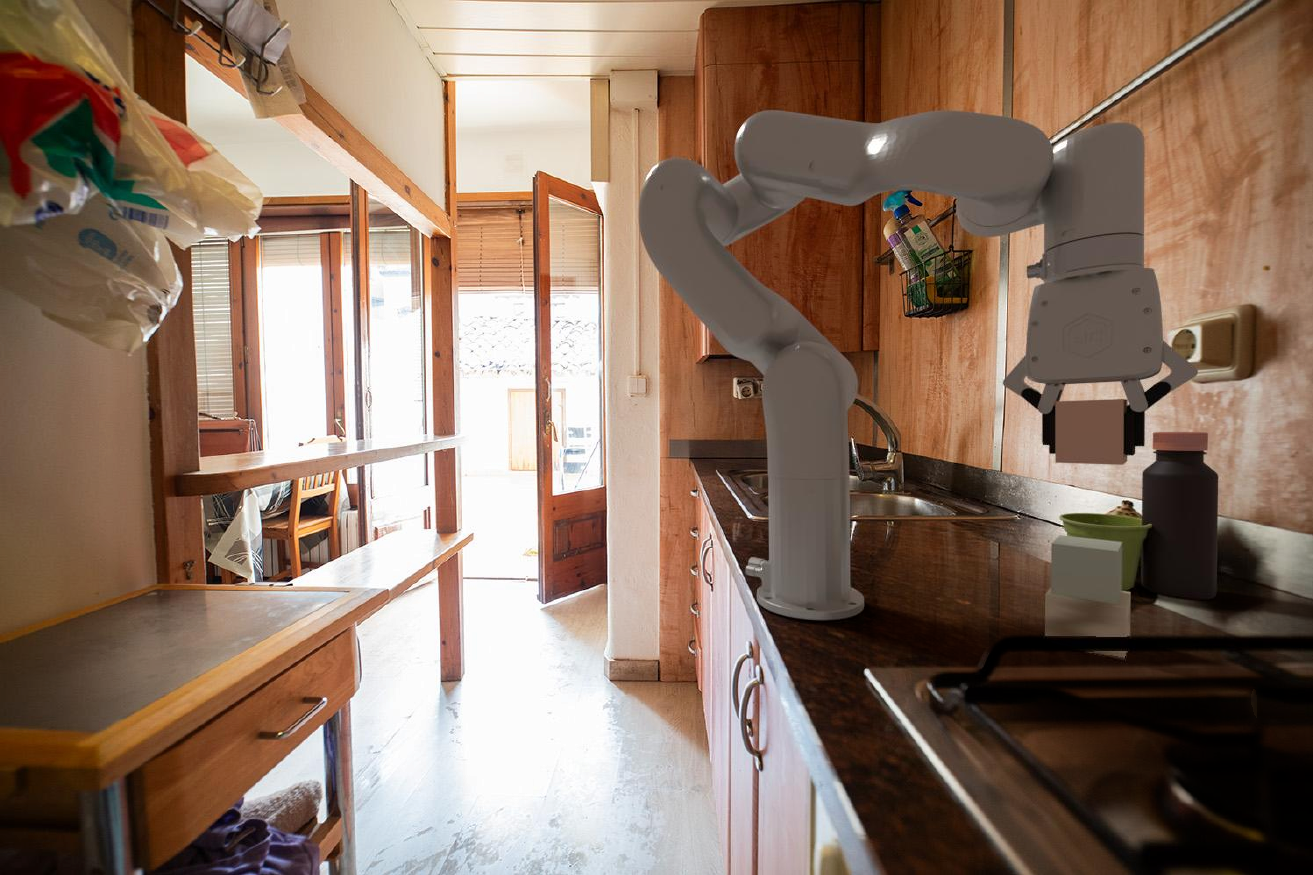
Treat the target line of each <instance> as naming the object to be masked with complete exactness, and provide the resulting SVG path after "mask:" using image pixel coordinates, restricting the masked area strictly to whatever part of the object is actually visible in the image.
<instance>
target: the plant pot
mask: <svg viewBox="0 0 1313 875" xmlns="http://www.w3.org/2000/svg"><path fill="white" fill-rule="evenodd" d="M1058 517H1059V520H1060V521H1061V522H1062V524H1063V529H1064V531H1065V532H1066V536H1072V537H1081V538H1090V539H1099V540H1108V541H1117V542H1122V591H1129V590H1130V589H1133V588H1135V582H1136V578H1137V573H1138V568H1139V563H1140V557H1141V553H1142V544H1143V540H1144V539H1145V538H1146V536H1147V532H1148V528H1151V527H1152V524H1148V525H1145V526H1142V518H1138V517H1134V516H1127V515H1119V514H1109V513H1094V512H1093V513H1092V512H1072V513H1063V514H1060V515H1059V516H1058Z"/></svg>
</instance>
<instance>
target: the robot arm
mask: <svg viewBox="0 0 1313 875" xmlns="http://www.w3.org/2000/svg"><path fill="white" fill-rule="evenodd" d="M734 142H735V143H734V147H733V148H734V149H733V150H734V151H733V152H734V153H733V154H734V159H735V164H736V166H737V170H738V171H739V174H738V175H735V176H734V177H732V178H731V179H730V180H728V181H726V182H725V183H723V184H722V183H721V181H719V180H718V179H717V178H716V176H714V175H713V173H711V172H710V171H709V170H708V169H707V167H706V168H705V167H704V166H703V165H701V164H699V163H698V162H696V161H694V160H691V159H688V158H684V157H670V158H666V159H663V160H661V161H659V162H658V163H657V164H656V165H654V166H653V167H652V168H651V169H650V171H649V172H648V174H647V176H646V178H645V180H644V181H643V182H644V183H643V185H642V188H641V192H640V194H639V195H640V196H639V202H638V227H639V232H640V237H641V240H642V242H643V246H644V248H645V251H646V253H647V255H648V257H649V258H650V260H651V263H652V264H653V265H654V267H655V269H656V270H657V271H658V272H659V274H660V275H661V277H662V278H663V279H664V280H665V282H666V283H667V284H668V285H669V286H670V287H671V288H672V289H673V290H674V292H675V293H676V294H677V295H678V296H679V297H680V299H682V301H683V302H684V303H685V304H686V305H687V306H688V308H689V309H690V310H691V312H693V314H694V315H695V316H696V317H697V318H698V319H699V320H700V322H701V323H702V324H703V325H704V326H705V327H706V328H707V329H708V330H709V332H710V333H711V334H712V335H713V337H715V339H716V340H717V341H718V342H719V344H720V345H721V346H722V348H724V349H725V350H726V351H727V353H729V354H730V355H732V356H734V357H736V358H738V359H742V360H745V361H747V362H750V363H751V364H752V365H753V366H754V367H755V368H756V369H757V370H758V371H759V372H760V373H761V374H762V375H763V379H762V383H761V385H762V386H761V392H762V393H761V398H762V399H761V400H762V408H763V417H764V424H765V433H766V446H767V448H766V451H767V478H768V479H767V480H768V484H767V485H768V560H766V559H764V558H759V557H754V556H752V557H750V558H749V559H748V562H747V565H746V566H745V575H747V576H751V577H756V578H760V580H761V585H760V586H759V587H758V588H757V590H756V601H757V602H758V604H759V605H760V606H761V607H762V608H764V609H765V610H767V611H769V612H772V613H775V614H777V615H780V616H784V617H788V618H794V619H797V620H798V619H800V620H807V621H808V620H809V621H835V620H836V621H837V620H842V619H843V620H844V619H848V618H852V617H853V616H857V615H859V614H860V613H862V612H863V610H864V609H865V608H864V607H865V597H864V596H863V594H862V593H861V592H860V591H858V590H857V589H855V588H853V587H852V586H851V509H850V508H851V501H850V500H851V498H850V494H851V490H850V489H851V488H850V486H851V485H850V482H851V481H850V478H851V477H850V445H849V444H850V443H849V440H850V439H849V427H848V426H849V424H848V410H849V409H850V408H851V407H852V405H853V403H854V402H855V400H856V398H857V394H858V388H859V380H858V376H857V373H856V371H855V369H854V366H853V365H852V363H851V362H850V360H848V359H847V358H846V357H845V356H844V354H842V352H841V351H839V350H838V349H837V348H836V347H835V346H834V345H833V344H832V343H831V342H830V341H829V340H828V339H827V338H826V337H825V336H824V335H823V334H822V333H821V332H820V331H819V330H818V329H817V327H815V326H814V325H813V324H812V323H811V322H810V321H809V320H808V319H807V318H806V317H805V316H804V315H803V314H802V313H801V312H800V311H799V310H798V309H797V308H796V307H795V306H793V305H792V304H791V303H790V302H789V301H788V300H786V299H785V298H784V297H782V296H781V295H780V294H778V293H776V292H775V291H774V290H772V289H770V288H769V287H767V286H765V284H763V283H762V282H760V281H759V280H758V279H757V278H756V277H755V276H754V275H752V274H751V272H749V271H748V270H747V269H746V268H745V267H744V266H743V265H742V264H741V263H740V262H739V261H738V260H737V258H736V257H735V256H734V254H733V253H732V252H730V251H729V249H727V248H726V247H727V246H729V245H731V244H733V243H735V242H737V241H738V240H740V239H742V238H744V237H746V236H747V235H750V233H752V232H755V231H756V230H759V229H760V228H762V227H763V226H765V225H767V224H769V223H770V222H773V221H774V220H776V219H778V218H780V217H781V216H783V215H784V214H786V213H787V212H789V211H791V210H792V209H793V208H795V207H796V206H797V205H799V204H801V203H802V202H803V201H804V200H805V198H809V199H813V200H814V199H815V200H819V201H823V202H828V203H832V204H835V205H836V204H838V205H842V206H846V207H854V206H857V205H860V204H862V203H864V202H866V201H868V200H869V199H871V198H872V197H874V196H876V195H878V194H882V193H886V192H891V191H912V192H913V191H914V192H916V191H917V192H923V193H924V192H925V193H931V194H936V195H942V196H947V197H951V198H956V203H955V204H956V205H955V206H956V207H955V211H956V216H957V217H956V218H957V220H958V223H959V224H960V226H961V227H962V229H963V230H965V231H966V232H968V233H969V234H971V235H973V236H975V237H979V238H980V237H981V238H995V237H1001V236H1006V235H1010V234H1013V233H1016V232H1020V231H1022V230H1023V231H1024V230H1026V229H1030V228H1033V227H1036V226H1040V225H1043V253H1042V257H1041V258H1040V260H1039V262H1035V263H1033V264H1029V265H1027V266H1026V277H1027V279H1028V280H1029V279H1034V278H1035V279H1040V280H1041V281H1043V283H1041V284H1037V285H1036V286H1034V289H1033V290H1032V295H1031V302H1030V307H1029V311H1028V312H1029V313H1028V314H1029V315H1028V321H1027V330H1026V341H1025V342H1026V343H1025V344H1026V345H1025V355H1024V356H1023V357H1022V358H1021V360H1020V361H1019V362H1018V363H1017V364H1016V365H1015V367H1014V368H1013V369H1012V370H1011V371H1010V372H1009V373H1008V374H1007V376H1006V377H1005V378H1004V379H1003V380H1002V386H1004V387H1006V388H1007V389H1009V390H1010V391H1011V392H1013V393H1015V394H1016V395H1018V396H1020V397H1022V399H1024V401H1026V402H1027V403H1028V404H1030V405H1031V406H1032V407H1033V408H1035V409H1036V410H1037V411H1038V412H1039V413H1040V414H1041V421H1042V422H1041V425H1042V426H1041V432H1042V433H1041V438H1042V439H1041V442H1042V445H1043V446H1049V447H1048V453H1049V454H1051V455H1054V454H1055V401H1061V398H1062V396H1063V393H1064V390H1065V387H1066V385H1075V384H1079V385H1080V384H1081V385H1082V384H1098V383H1113V382H1114V383H1115V382H1120V383H1121V386H1122V388H1123V391H1124V394H1125V396H1126V400H1128V406H1126V414H1124V454H1126V455H1127V456H1130V457H1131V456H1132V457H1133V456H1135V455H1136V447H1145V440H1146V437H1145V435H1146V429H1145V428H1146V425H1145V424H1146V421H1145V420H1146V417H1145V416H1146V414H1145V413H1146V411H1147V410H1149V409H1150V408H1151V407H1152V406H1154V405H1155V404H1156V403H1158V402H1159V401H1160V400H1162V399H1163V398H1165V397H1166V396H1167V395H1169V393H1171V392H1172V391H1175V390H1176V389H1177V388H1180V387H1182V386H1183V385H1184V384H1186V383H1187V382H1190V381H1191V380H1192V379H1194V378H1195V377H1197V375H1198V374H1199V370H1198V368H1197V367H1195V366H1194V365H1193V364H1192V362H1191V363H1190V362H1189V361H1188V360H1187V359H1186V358H1185V357H1184V356H1182V355H1181V354H1180V353H1179V352H1177V350H1175V349H1174V348H1173V347H1171V345H1169V344H1168V343H1167V342H1165V341H1164V330H1163V329H1164V327H1163V326H1164V325H1163V314H1162V312H1163V310H1162V301H1161V293H1160V289H1159V287H1160V286H1159V284H1158V279H1157V276H1156V272H1155V269H1154V268H1151V267H1145V153H1146V152H1145V151H1146V150H1145V149H1146V148H1145V136H1144V133H1143V131H1142V130H1141V129H1140V128H1139V127H1138V126H1136V125H1135V124H1133V123H1128V122H1110V123H1109V122H1108V123H1102V124H1098V125H1094V126H1091V127H1088V128H1085V129H1082V130H1078V131H1076V132H1074V133H1071V134H1070V135H1068V136H1066V137H1063V138H1062V139H1061V140H1060V141H1058V142H1057V143H1055V144H1054V145H1052V143H1051V140H1050V138H1049V137H1048V135H1046V133H1045V132H1044V131H1043V130H1042V129H1040V128H1038V126H1036V125H1034V124H1032V123H1029V122H1026V121H1023V120H1020V119H1017V118H1014V117H1013V118H1012V117H1009V116H1008V117H1007V116H1003V115H995V114H988V113H979V112H972V111H963V110H951V109H950V110H944V109H943V110H930V111H925V112H919V113H915V114H911V115H905V116H900V117H896V118H892V119H890V120H886V121H883V122H880V123H879V122H878V123H877V122H876V123H875V122H874V123H873V122H871V123H870V122H864V121H856V120H855V121H854V120H850V119H849V120H848V119H842V118H841V119H840V118H835V117H834V118H833V117H829V116H828V117H827V116H820V115H814V114H807V113H799V112H793V111H786V110H779V109H778V110H776V109H775V110H773V109H771V110H770V109H769V110H768V109H767V110H762V111H759V112H756V113H754V114H752V115H751V116H750V117H748V118H747V119H746V120H745V121H744V122H743V123H742V125H741V127H740V128H739V130H738V132H737V134H736V138H735V141H734ZM1163 364H1164V365H1165V366H1166V367H1168V368H1169V369H1170V373H1169V375H1166V376H1165V377H1164V378H1162V379H1161V380H1159V381H1157V382H1155V384H1153V385H1151V386H1150V388H1148V389H1147V390H1145V388H1144V387H1143V384H1142V382H1141V381H1143V380H1145V379H1146V380H1147V379H1150V378H1153V377H1155V376H1157V375H1158V374H1159V373H1160V372H1161V370H1162V367H1163ZM1025 378H1027V379H1028V380H1029V381H1031V382H1034V383H1039V384H1044V387H1043V391H1042V393H1041V392H1039V391H1038V390H1037V389H1035V388H1033V387H1032V386H1030V385H1029V384H1027V383H1026V382H1025Z"/></svg>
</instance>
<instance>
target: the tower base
mask: <svg viewBox="0 0 1313 875" xmlns="http://www.w3.org/2000/svg"><path fill="white" fill-rule="evenodd" d="M1131 593H1132V592H1131V591H1127V590H1125V591H1122V592H1121V596H1120V599H1119V602H1118V605H1114V604H1108V603H1102V602H1096V601H1091V600H1085V599H1079V598H1073V597H1068V596H1062V595H1056V594H1051V586H1050V587H1049V588H1048V590H1046V592H1045V593H1044V597H1045V598H1044V599H1045V600H1044V607H1045V608H1044V609H1045V610H1044V637H1045V636H1096V637H1127V636H1130V637H1131ZM1086 653H1089V654H1092V653H1100V654H1104V655H1113V656H1118V657H1123V658H1125V656H1126V657H1127V655H1126V653H1127V654H1128V651H1094V652H1086Z"/></svg>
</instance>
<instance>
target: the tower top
mask: <svg viewBox="0 0 1313 875" xmlns="http://www.w3.org/2000/svg"><path fill="white" fill-rule="evenodd" d="M1050 548H1051V554H1050V555H1051V556H1050V560H1051V561H1050V563H1051V564H1050V565H1051V566H1050V569H1051V570H1050V571H1051V572H1050V573H1051V574H1050V587H1051V594H1056V595H1062V596H1068V597H1073V598H1079V599H1085V600H1091V601H1096V602H1102V603H1108V604H1114V605H1118V602H1119V599H1120V596H1121V592H1122V542H1117V541H1108V540H1099V539H1090V538H1081V537H1072V536H1067V535H1062V534H1059V535H1058V536H1057V537H1056V538H1055V539H1054V540H1053V541H1052V542H1051V546H1050Z"/></svg>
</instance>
